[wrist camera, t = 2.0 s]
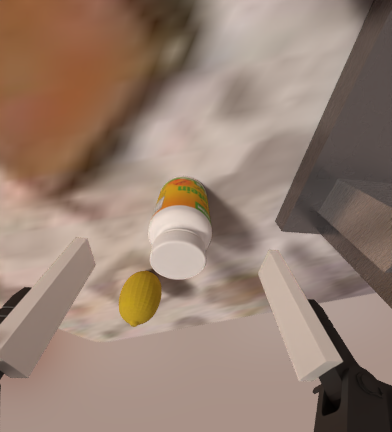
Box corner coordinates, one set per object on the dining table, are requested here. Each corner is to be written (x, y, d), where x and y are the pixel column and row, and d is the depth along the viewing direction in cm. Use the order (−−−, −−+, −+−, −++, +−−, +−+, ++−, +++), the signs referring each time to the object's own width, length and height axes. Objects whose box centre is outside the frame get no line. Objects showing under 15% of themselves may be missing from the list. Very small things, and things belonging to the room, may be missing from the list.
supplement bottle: (215, 189, 20) (232, 252, 12) (192, 222, 22) (192, 292, 14) (173, 165, 18) (157, 220, 10) (153, 204, 20) (128, 272, 12)
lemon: (139, 254, 25) (121, 309, 19) (171, 269, 27) (164, 323, 21) (123, 273, 28) (102, 328, 21) (153, 285, 30) (142, 339, 23)
